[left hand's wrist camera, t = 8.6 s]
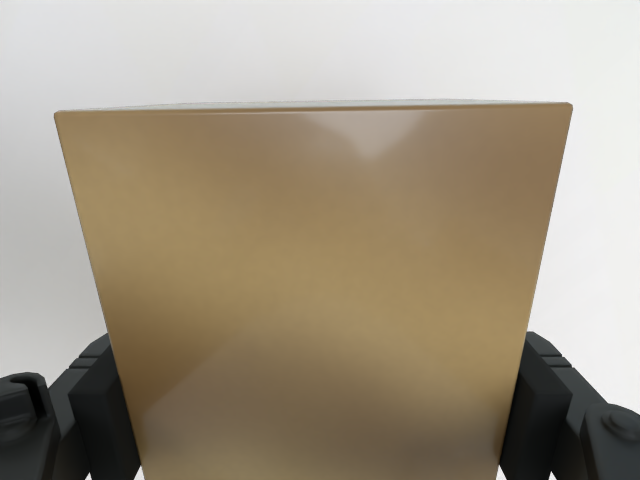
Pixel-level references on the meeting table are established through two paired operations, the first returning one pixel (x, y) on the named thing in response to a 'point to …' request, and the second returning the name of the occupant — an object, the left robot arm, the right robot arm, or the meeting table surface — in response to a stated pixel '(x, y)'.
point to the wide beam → (317, 278)
